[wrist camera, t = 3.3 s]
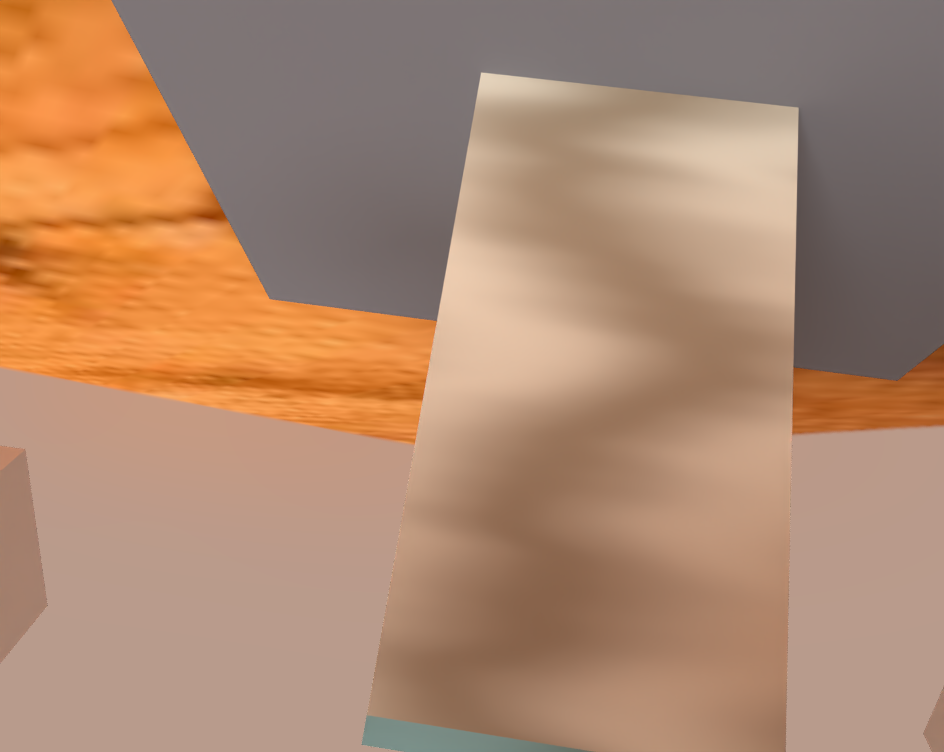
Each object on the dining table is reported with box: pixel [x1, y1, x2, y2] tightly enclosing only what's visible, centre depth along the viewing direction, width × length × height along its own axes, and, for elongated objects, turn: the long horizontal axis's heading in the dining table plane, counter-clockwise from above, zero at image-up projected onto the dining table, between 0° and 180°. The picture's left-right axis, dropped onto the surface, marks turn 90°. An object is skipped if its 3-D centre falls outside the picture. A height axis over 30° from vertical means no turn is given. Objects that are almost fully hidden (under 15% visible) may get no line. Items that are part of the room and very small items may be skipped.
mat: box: [112, 0, 944, 381], centre depth 20 cm, size 20×17×1 cm
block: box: [362, 72, 799, 752], centre depth 18 cm, size 6×8×12 cm
